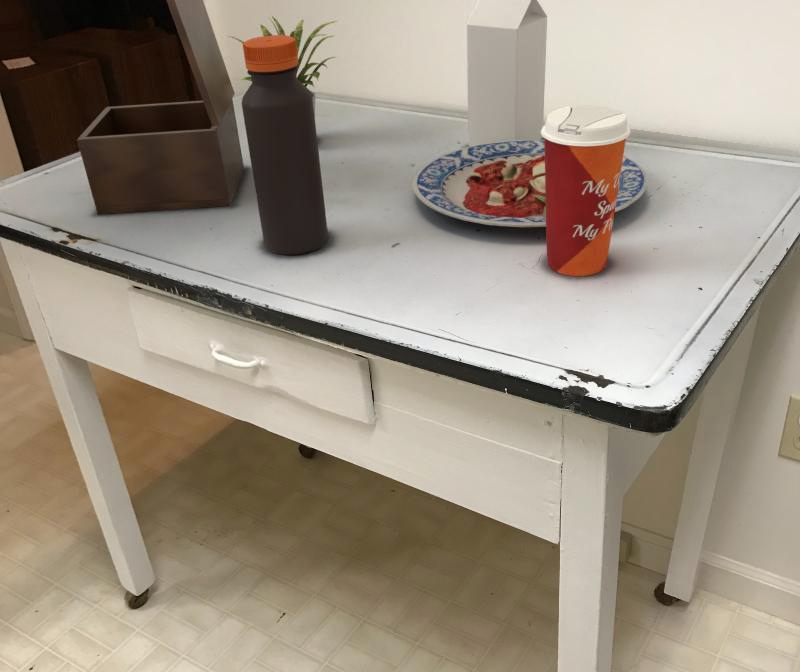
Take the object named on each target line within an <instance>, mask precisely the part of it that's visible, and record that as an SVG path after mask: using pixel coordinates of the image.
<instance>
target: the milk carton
mask: <svg viewBox="0 0 800 672" xmlns="http://www.w3.org/2000/svg"><path fill="white" fill-rule="evenodd" d="M547 32H548V15H547V14H546V12H545V11H544V9H543V7H542V6H541V4H540V2H539V1H538V0H477V2H476V3H475V5H474V8H473V10H472V11H471V14H470V16H469V18H468V20H467V22H466V64H467V65H466V67H467V68H466V70H467V71H466V73H467V74H466V75H467V78H466V79H467V145H468V147H470V146H474V145H479V144H485V143H492V142H499V141H510V140H543V138H544V137H543V136H542V135H541V129H542V127H543V126H544V116H545V115H544V114H545V89H546V88H545V87H546V84H545V83H546V65H547V64H546V61H547V36H548V33H547Z"/></svg>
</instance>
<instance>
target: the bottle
mask: <svg viewBox="0 0 800 672" xmlns="http://www.w3.org/2000/svg"><path fill="white" fill-rule="evenodd" d="M285 35H286V34H285ZM285 35H280V34H279V35H278V34H272V35H271V36H257V37H252V38H250V39H247V40H245V41H243V42H244V43H242V50H243V55H244V63H245V64H246V65H245V64H244V65H245V68H246V70H247V74H248V76H250V77H251V80H252V81H251V84H250V85H249V87H248V89H247V90H246V91H245V93H244V94H243V96H242V98H241V109H242V115H243V120H244V127H245V133H246V140H247V146H248V152H249V158H250V165H251V171H252V177H253V184H254V191H255V197H256V202H257V209H258V215H259V220H260V228H261V233H262V239H263V245H264V246H265V247H266V249H268V250H269V251H270V252H273V253H275V254H280V255H290V256H291V255H292V256H293V255H303V254H306V253H311V252H313V251H315V250H318V249H319V248H321V247H322V246H324V245H325V244H326V243H327V241H328V239H329V231H328V222H327V214H326V206H325V196H324V188H323V177H322V171H321V169H322V168H321V161H320V151H319V143H318V134H317V125H316V115H315V116H314V107H313V98H312V93H311V91H312V90H310V89H309V88H308V86H307V87H306V86H304V85H305V84H302V83H301V82H300V81H299V80H298V79H297V77H298V75H296V71H297V70H298V71H299V69H298V59H299V52H298V53H297V45H296V39H295V38H293V37H291V36H290V35H286V36H285Z"/></svg>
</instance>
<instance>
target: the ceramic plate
mask: <svg viewBox="0 0 800 672" xmlns="http://www.w3.org/2000/svg"><path fill="white" fill-rule="evenodd" d="M647 185H648V176H647V174H646V171H644V169H643V168H642V167H641V166H640V165H639V164H638V163H637V162H636V161H634V160H633V159H630V158H629V157H627V156H626V155H623V161H622V167H621V174H620V181H619V187H618V194H617V201H616V207H615V213H617V212H619V211H622V210H624V209H626V208H628V207H630V206H631V205H632V204H633V203H634V202H636V201H638V200H639V199H640V198H641V197H642V196H643V195H644V193H645V191H646V189H647ZM412 189H413V192H414V195H415V196H416V198H418V200H420V202H421V203H423V204H424V205H425V206H427V207H428V208H430V209H431V210H434V211H436V212H438V213H440V214H442V215H444V216H448V217H451V218H454V219H458V220H460V221H465V222H471V223H476V224H480V225H481V224H482V225H487V226H498V227H513V228H514V227H515V228H544V227H545V228H546V198H545V140H544V139H540V140H510V141H499V142H492V143H485V144H479V145H474V146H466V147H462V148H458V149H456V150H453V151H450V152H447V153H444V154H441V155H439V156H437V157H436V158H433V159H431V160H430V161H428V162H427V163H425V164H424V165H422V166H421V168H420V169H419V170H418V171H417V172H416V173H415V175H414V177H413V179H412Z"/></svg>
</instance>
